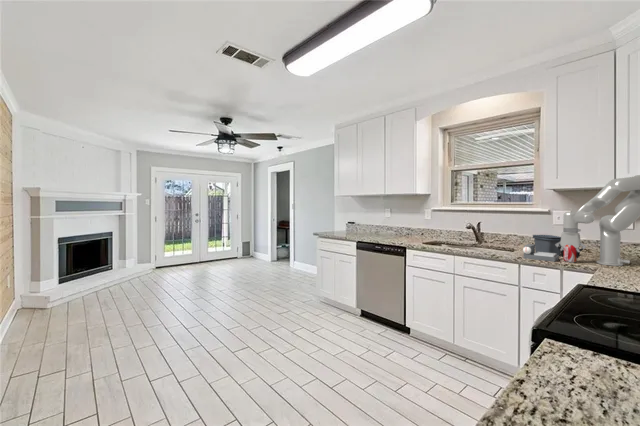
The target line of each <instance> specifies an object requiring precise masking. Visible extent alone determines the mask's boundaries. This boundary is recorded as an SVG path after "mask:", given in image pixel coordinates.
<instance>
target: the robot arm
mask: <svg viewBox="0 0 640 426" xmlns="http://www.w3.org/2000/svg"><path fill="white" fill-rule="evenodd" d="M623 192H629V193H628V194H627V195H626V197H625V198H623V199H622V200H621V201H620V202H619V203H618V204H617V205H616V206H615V208H614V213H615V214H614V215H613V214H607V215H604V216H602V217H601V218H600V220H599V224H598V225H599V231H600V237H599V238H600V240H599V243H600V244H599V260H596V263H597V264H599V265H604V266H613V267H614V266H615V267H623V266H624V264H630V263H631V260H629V259H622V257H621V242H622V241H621V239H622V237H621V232H622V231H625V230H626V229H628V228H630V226H631V225H633V224H634V223H635V222H636V221H637V220H638V219H639V218H640V174H638V175H633V176H628V177H621V178H613V179H611V180H610V181H608V182H607V183H606V184H605V186H603V188H602V189H600V191H599V192H598V193H596V195H595V196H594V197H592V198H591V199H590V200H588V201H587V202H586V203H584V204H583V205H582V206H581V207H580V208H579V209H578V210H577V211H576V212H574V211H569V212H568V211H567V212H563V218H562V219H563V225H562V227H563V228H562V229H563V231H562V233H561V236H560V237H561V241H560V242H558V243H557V244H555V245H556V246H557V247H558V249H560V251H561V253H560V256H561V257H562V258H563V250H564V247H565V246H566V244H568V245H573V246H574V247H575V248H576V250H577V256H576V258H577V259H579V257H580V256H581V252H582V251H583V250H585V249H586V248H587V246H586V245H585V244H584V243H582V242H581V235H580V233H579V232H581V231H582V230H581V229H579V228H578V227H579V224H585V225H586V224H591V223H594V221H595V220H596V216H595V215H594V213H595V212H596V211H599V210H600V209H601V208H604V207H607V206H608V205H610V203H612V202H613V201H614V199H616V197H618V196H619V195H620V194H621V193H623ZM559 244H560V245H561V247H560V246H559Z"/></svg>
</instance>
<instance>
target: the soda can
mask: <svg viewBox="0 0 640 426" xmlns="http://www.w3.org/2000/svg"><path fill="white" fill-rule="evenodd" d="M576 256H577V250H576V248H575V247H574V246H573V245H568V244H566V246H565V247H564V249H563V257H562V258H563V259H562V260H563V261H564V262H566V263H570V264H571V263H572V264H573V263H576V262H578V261H577V260H578V258H576Z"/></svg>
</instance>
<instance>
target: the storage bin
mask: <svg viewBox="0 0 640 426" xmlns="http://www.w3.org/2000/svg"><path fill="white" fill-rule="evenodd" d="M532 238H533V239H534V245H535V253H536V252H546V253H556V254H557V255H559V257H561V251H560V249H558V247H557V246H556V245H555V244H557V243H558V242H560V241H561V236H558V235H553V234H532ZM559 246H560V247H561V245H560V244H559ZM561 248H562V247H561Z"/></svg>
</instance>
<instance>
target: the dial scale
mask: <svg viewBox="0 0 640 426" xmlns="http://www.w3.org/2000/svg"><path fill="white" fill-rule="evenodd" d="M522 252H523V259H525V260H526V259H527V260H535V261H542V262H543V261H544V262H553V263H555V262H557V261H558V260H559V257H560V256H559V255H557V254H556V253H546V252H535V243H528V244H525V245H524V246H523V248H522Z"/></svg>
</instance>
